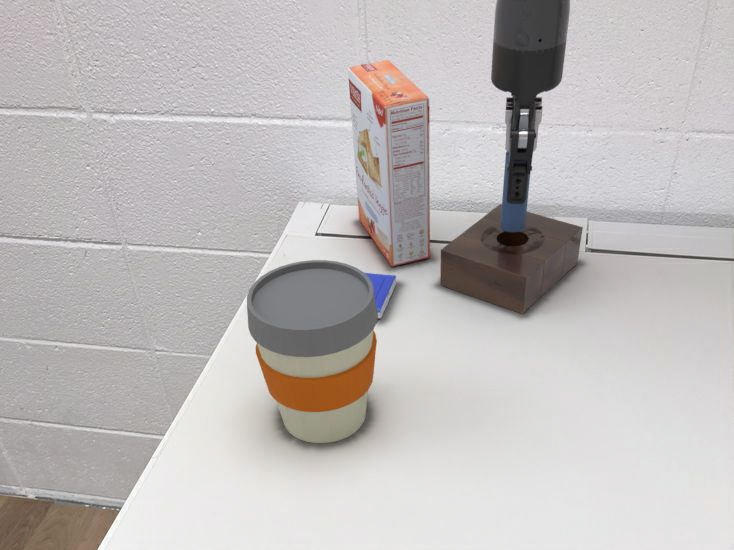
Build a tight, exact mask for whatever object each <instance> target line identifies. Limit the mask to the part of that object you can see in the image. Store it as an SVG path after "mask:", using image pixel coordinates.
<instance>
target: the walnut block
mask: <svg viewBox="0 0 734 550" xmlns="http://www.w3.org/2000/svg"><path fill="white" fill-rule="evenodd" d="M501 211H502V203H499V204H498V205H497V206H495V207H494V208H493V209H492V210H490V211H489V212H487V214H485V215H484V216H483V217H481V218H480V219H479V220H478V221H476V222H474V224H472V225H471V226H470V227H468V228H467V229H466V230H465V231H463V232H461V234H459V235H458V236H457V237H456V238H454V239H453V240H452V241H450V242H449V243H447V244H446V245H445V246H444V247H443V248H442V249H440V280H439V281H440V286H442V287H444V288H447V289H450V290H453V291H456V292H459V293H462V294H464V295H467V296H469V297H473V298H474V299H475V298H476V299H479V300H481V301H484V302H487V303H490V304H493V305H496V306H499V307H501V308H504V309H507V310H510V311H513V312H516V313H518V314H522V315H523V314H524V313H526V312H527V311H528V310H529V309H530V308H531V307H532V306H533V305H535V303H536V302H537V301H538V300H539V299H541V298H542V297H543V296H544V295H545V294H546V293H547V292H549V290H550V289H551V288H553V286H555V285H556V284H557V282H559V281H560V280H561V279H562V278H563V277H564V276H565V275H567V273H568V272H570V270H572V269H573V268H574V267H575V266H576V265H577V264H578V262H579V255H580V248H581V243H582V242H581V241H582V236H583V228H584V227H583V226H579V225H577V224H573V223H570V222H565V221H563V220H558V219H555V218H553V217H549V216H544V215H541V214H538V213H533V212H531V211H527V212H526V222H525V228H524V229H523V230H522V231H519V232H507V231H504V230H502V229H501V227H500V224H501Z"/></svg>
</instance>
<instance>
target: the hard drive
mask: <svg viewBox="0 0 734 550" xmlns="http://www.w3.org/2000/svg"><path fill="white" fill-rule="evenodd" d="M364 273H365V274H366V275H367V276H368V277H369V278H370V280H371V282H372V284H373V289H374V295H375V300H376V306H377V312H378V319H380V320H381V319H382V317H383V315H384V313H385V311H386V308H387V306H388V304H389V301H390V300H391V297H392V295H393V292H394V290H395V288H396V285H397V275H395V274H382V273H372V272H364Z"/></svg>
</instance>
